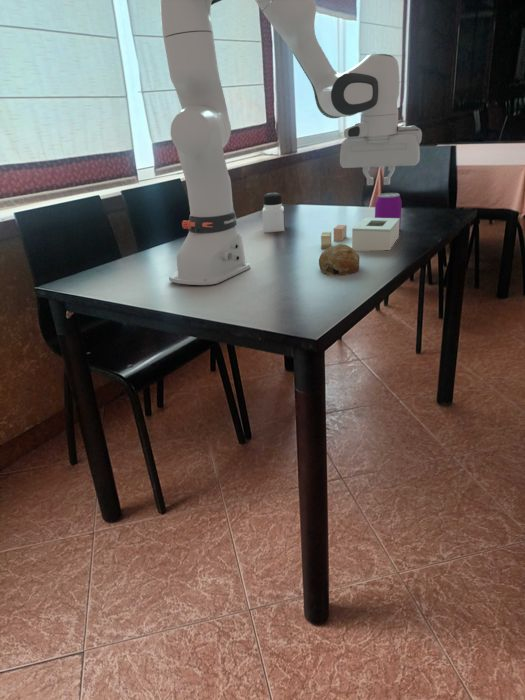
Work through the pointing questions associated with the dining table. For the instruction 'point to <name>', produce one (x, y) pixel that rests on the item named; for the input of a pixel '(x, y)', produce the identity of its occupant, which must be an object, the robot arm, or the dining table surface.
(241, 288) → the dining table surface
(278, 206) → the medicine bottle
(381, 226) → the box
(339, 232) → the salmon pink block
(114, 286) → the dining table surface
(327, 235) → the maple token
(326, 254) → the bread roll
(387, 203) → the beverage can
